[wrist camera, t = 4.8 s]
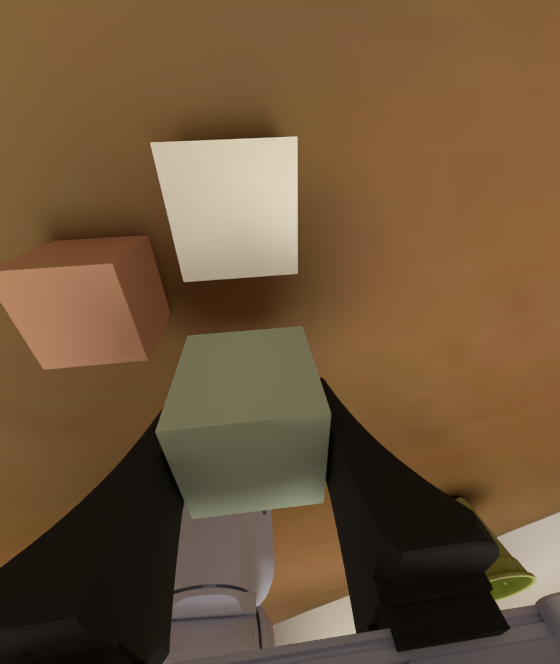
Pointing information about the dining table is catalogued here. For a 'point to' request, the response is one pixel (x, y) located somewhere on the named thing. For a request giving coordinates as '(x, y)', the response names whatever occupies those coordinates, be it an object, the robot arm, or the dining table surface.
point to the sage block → (246, 423)
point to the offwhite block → (231, 205)
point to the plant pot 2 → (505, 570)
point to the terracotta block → (86, 300)
